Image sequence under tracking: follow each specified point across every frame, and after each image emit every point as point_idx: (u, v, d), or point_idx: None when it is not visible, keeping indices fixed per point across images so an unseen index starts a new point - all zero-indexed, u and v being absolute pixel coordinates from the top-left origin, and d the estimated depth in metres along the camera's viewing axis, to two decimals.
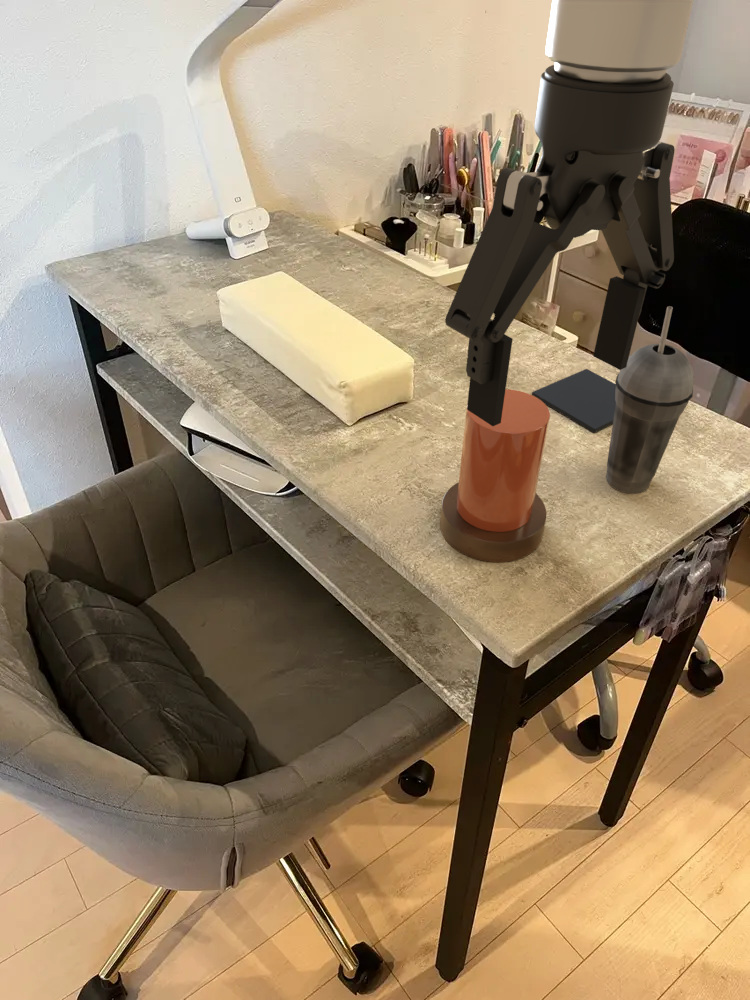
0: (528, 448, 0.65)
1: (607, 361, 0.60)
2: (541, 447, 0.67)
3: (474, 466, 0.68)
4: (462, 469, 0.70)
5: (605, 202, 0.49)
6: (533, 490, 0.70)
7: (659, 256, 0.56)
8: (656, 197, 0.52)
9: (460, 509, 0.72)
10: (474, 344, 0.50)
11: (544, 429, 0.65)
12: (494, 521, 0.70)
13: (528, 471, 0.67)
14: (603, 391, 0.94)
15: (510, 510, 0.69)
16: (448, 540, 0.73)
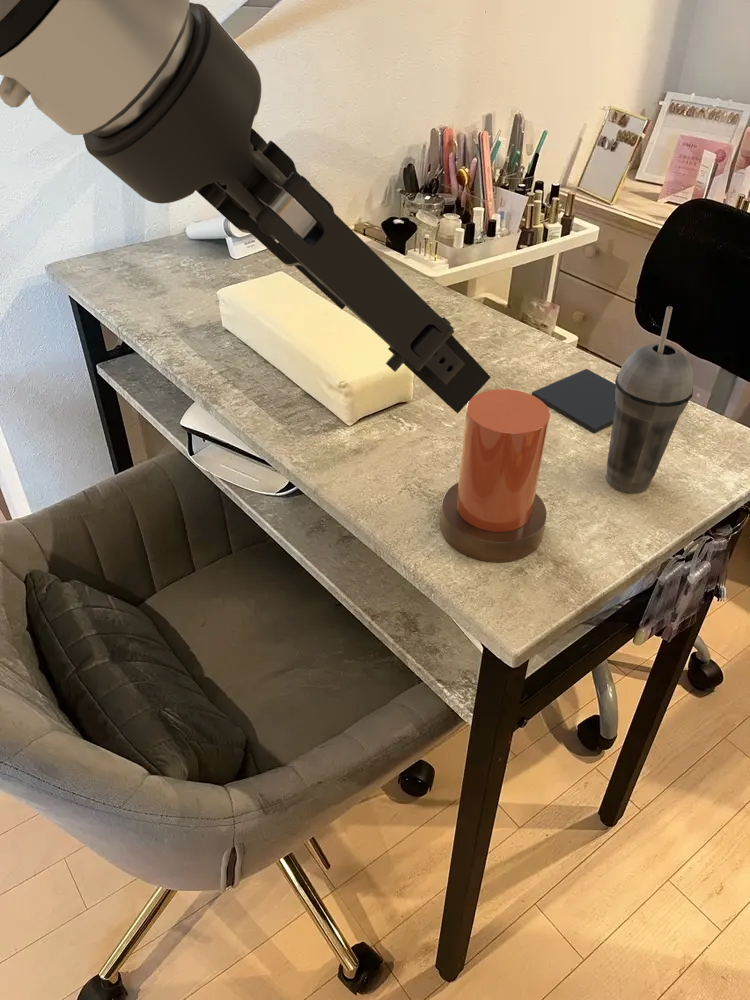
0: (528, 448, 0.65)
1: None
2: (541, 447, 0.67)
3: (474, 466, 0.68)
4: (462, 469, 0.70)
5: None
6: (533, 490, 0.70)
7: None
8: None
9: (460, 509, 0.72)
10: None
11: (544, 429, 0.65)
12: (494, 521, 0.70)
13: (528, 471, 0.67)
14: (603, 391, 0.94)
15: (510, 510, 0.69)
16: (448, 540, 0.73)
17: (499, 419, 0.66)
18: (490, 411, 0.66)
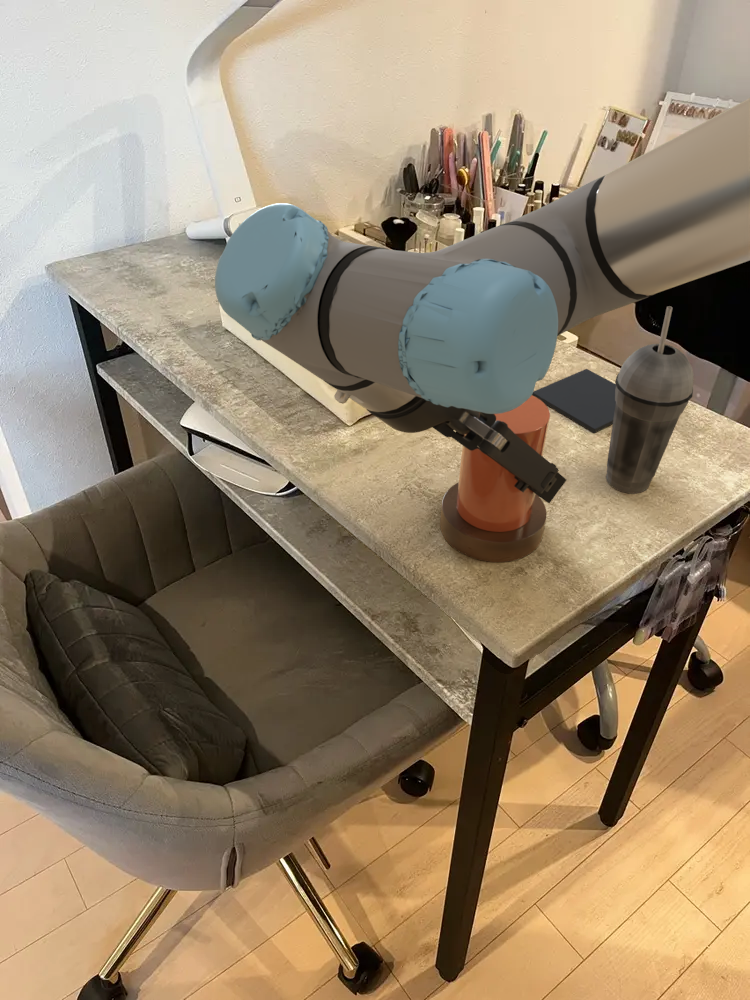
0: None
1: None
2: (541, 447, 0.67)
3: (474, 466, 0.68)
4: (462, 469, 0.70)
5: None
6: None
7: None
8: None
9: (460, 509, 0.72)
10: None
11: (544, 429, 0.65)
12: (494, 521, 0.70)
13: None
14: (603, 391, 0.94)
15: (510, 510, 0.69)
16: (448, 540, 0.73)
17: (499, 419, 0.66)
18: None
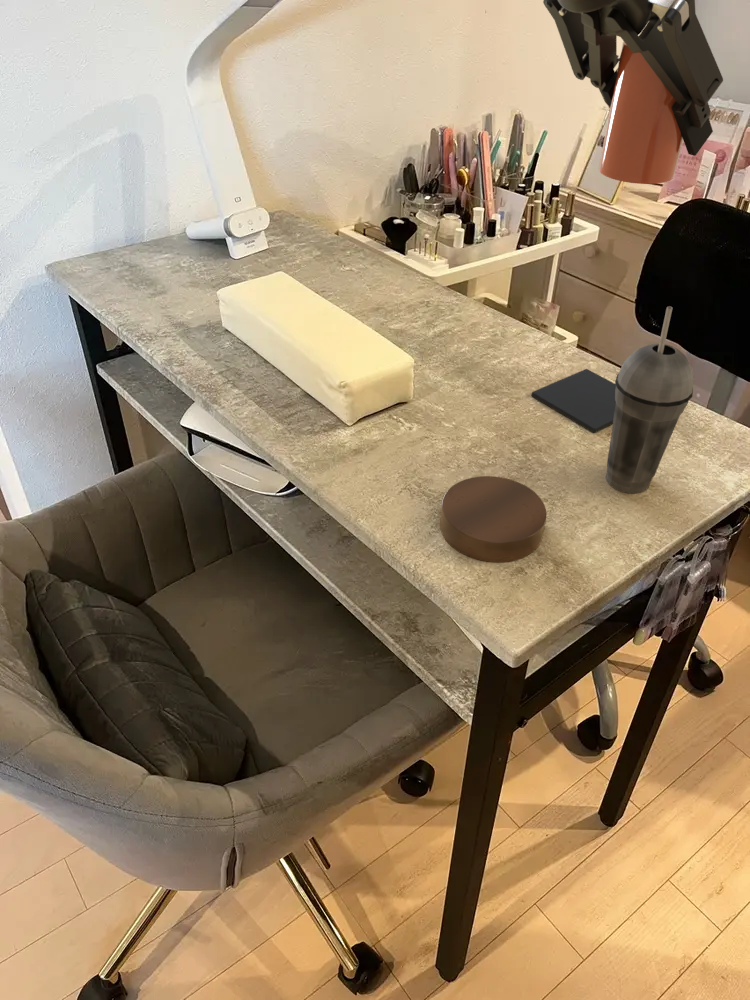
0: None
1: None
2: None
3: (629, 104, 0.70)
4: (612, 118, 0.72)
5: None
6: None
7: None
8: None
9: (605, 168, 0.74)
10: None
11: None
12: (643, 169, 0.72)
13: None
14: (603, 391, 0.94)
15: (660, 154, 0.71)
16: (448, 540, 0.73)
17: None
18: None
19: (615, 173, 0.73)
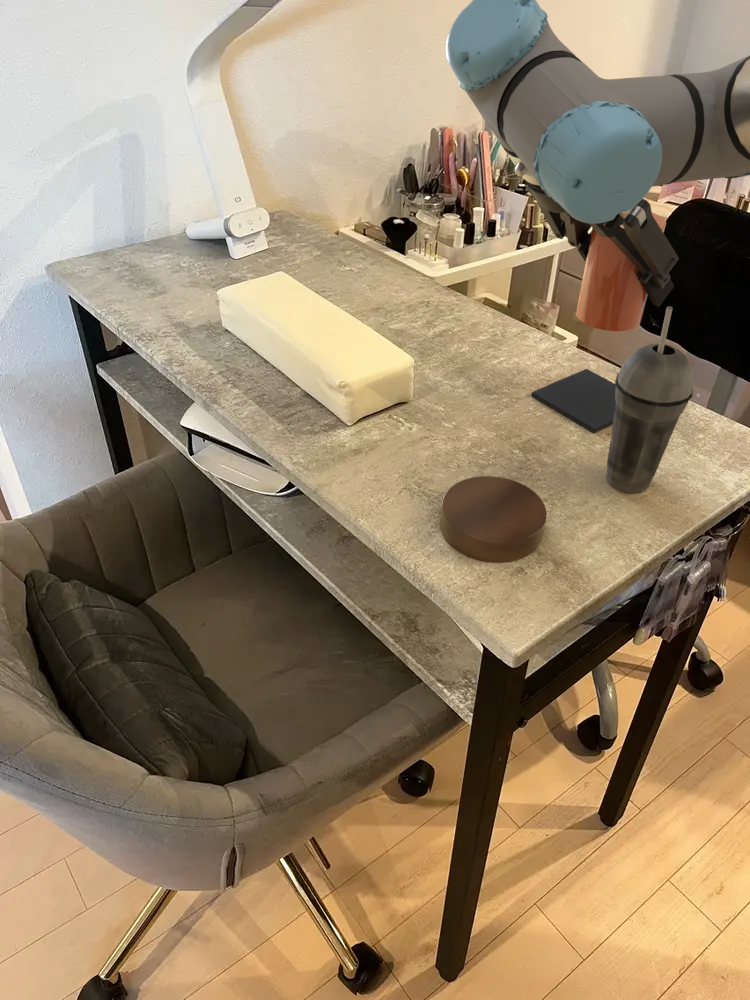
0: None
1: None
2: None
3: (600, 268, 0.81)
4: (586, 276, 0.83)
5: None
6: None
7: None
8: None
9: (581, 315, 0.85)
10: None
11: (662, 231, 0.78)
12: (613, 319, 0.83)
13: None
14: (603, 391, 0.94)
15: (628, 309, 0.82)
16: (448, 540, 0.73)
17: None
18: None
19: (589, 321, 0.84)
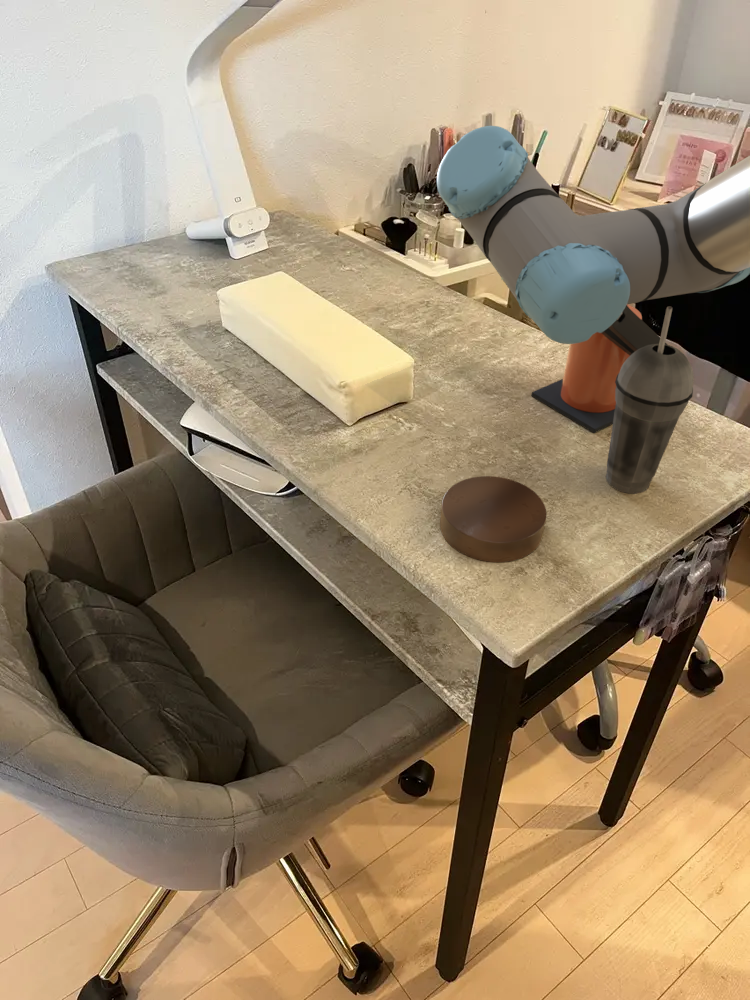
0: None
1: None
2: None
3: (581, 357, 0.87)
4: (569, 362, 0.89)
5: None
6: None
7: None
8: None
9: (565, 396, 0.92)
10: None
11: None
12: (594, 403, 0.90)
13: (624, 360, 0.87)
14: None
15: (607, 393, 0.89)
16: (448, 540, 0.73)
17: None
18: None
19: (572, 402, 0.91)
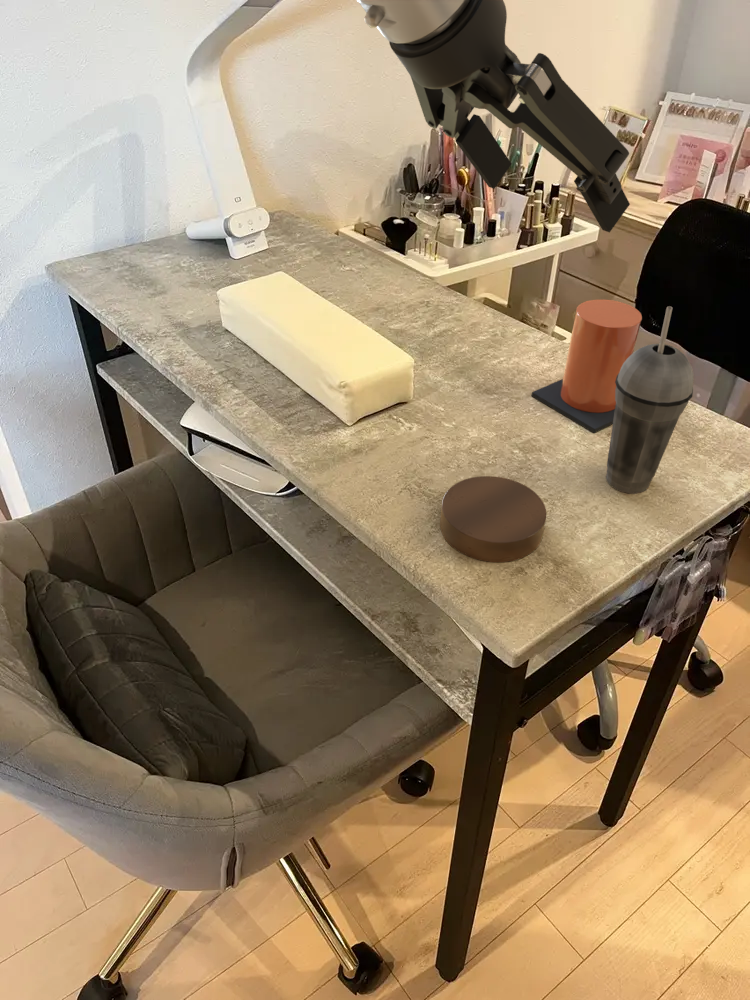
0: (626, 341, 0.85)
1: (502, 174, 0.71)
2: (634, 341, 0.86)
3: (581, 357, 0.87)
4: (569, 362, 0.89)
5: None
6: None
7: None
8: None
9: (565, 396, 0.92)
10: None
11: (638, 326, 0.85)
12: (594, 403, 0.90)
13: (624, 360, 0.87)
14: None
15: (607, 393, 0.89)
16: (448, 540, 0.73)
17: (604, 318, 0.85)
18: (595, 313, 0.86)
19: (572, 402, 0.91)
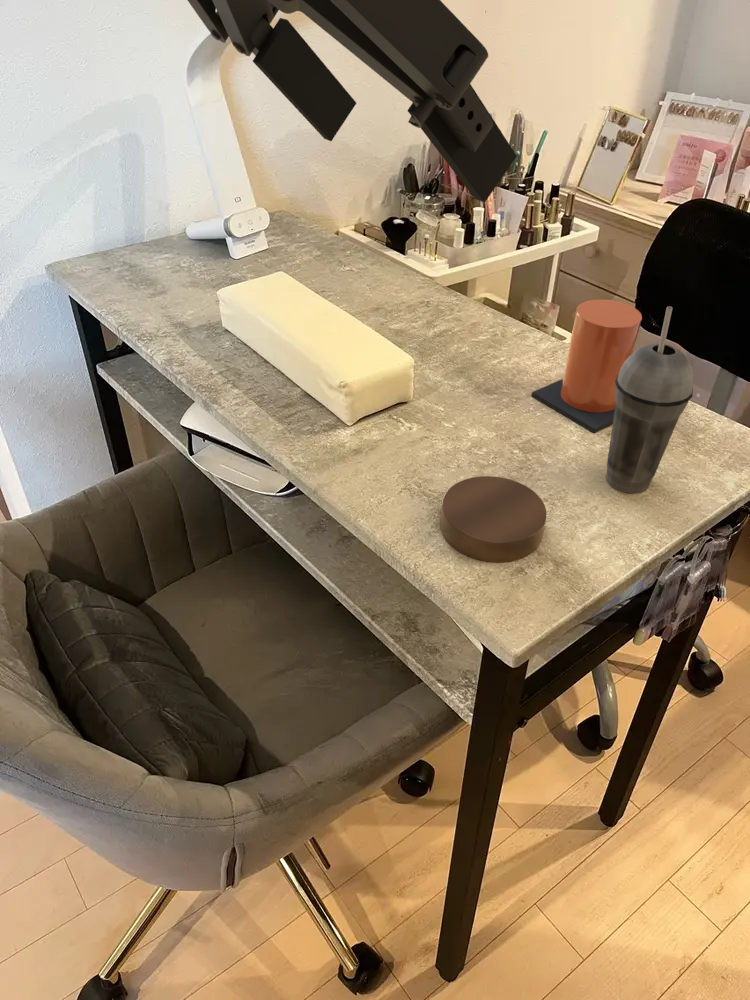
0: (626, 341, 0.85)
1: (342, 119, 0.46)
2: (634, 341, 0.86)
3: (581, 357, 0.87)
4: (569, 362, 0.89)
5: None
6: None
7: None
8: None
9: (565, 396, 0.92)
10: (457, 102, 0.33)
11: (638, 326, 0.85)
12: (594, 403, 0.90)
13: (624, 360, 0.87)
14: None
15: (607, 393, 0.89)
16: (448, 540, 0.73)
17: (604, 318, 0.85)
18: (595, 313, 0.86)
19: (572, 402, 0.91)
